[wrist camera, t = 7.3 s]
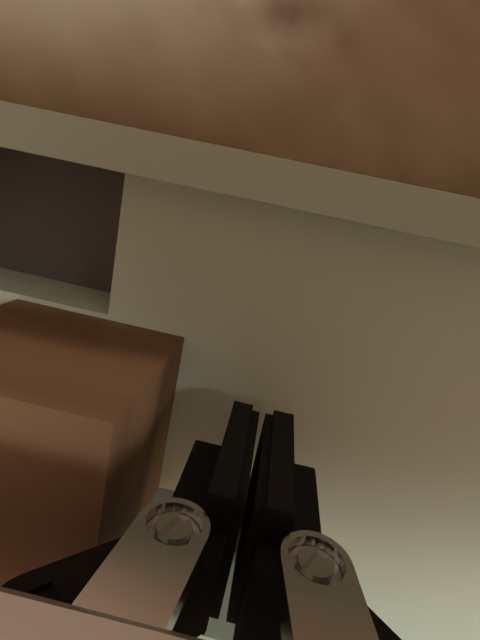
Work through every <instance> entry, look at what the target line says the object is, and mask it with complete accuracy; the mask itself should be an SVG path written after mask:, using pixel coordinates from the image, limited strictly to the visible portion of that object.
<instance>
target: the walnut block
mask: <svg viewBox="0 0 480 640" xmlns="http://www.w3.org/2000/svg"><path fill="white" fill-rule="evenodd" d="M183 343H184V337H181V336H177V335H172V334H168V333H164V332H159V331H155V330H151V329H146V328H142V327H138V326H133V325H129V324H125V323H120V322H116V321H112V320H107V319H103V318H98V317H94V316H90V315H85V314H81V313H77V312H72V311H68V310H64V309H59V308H55V307H51V306H46V305H42V304H38V303H33V302H29V301H24V300H20V299H16V300H13V301H10V302H7V303H4V304H1V305H0V586H2V585H3V584H5V583H6V582H7V581H9V580H11V579H13V578H15V577H17V576H19V575H21V574H23V573H26V572H28V571H31V570H34V569H36V568H39V567H42V566H45V565H47V564H50V563H53V562H55V561H58V560H61V559H63V558H66V557H69V556H71V555H74V554H77V553H79V552H82V551H85V550H88V549H90V548H93V547H96V546H98V545H101V544H104V543H106V542H109V541H112V540H114V539H117V538H120V537H122V536H123V535H124V533H125V532H126V531H127V529H128V528H129V527H130V525H131V524H132V522H133V521H134V520H135V518H136V517H137V516H138V514H139V513H140V512H141V510H142V509H143V508H144V507H146V506H147V505H148V504H149V503H151V501H152V499H153V497H154V495H155V493H156V490H157V488H158V486H159V482H160V476H161V471H162V465H163V459H164V453H165V447H166V442H167V436H168V430H169V424H170V418H171V413H172V407H173V401H174V395H175V390H176V384H177V378H178V372H179V366H180V361H181V355H182V349H183Z"/></svg>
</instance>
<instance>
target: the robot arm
mask: <svg viewBox="0 0 480 640" xmlns="http://www.w3.org/2000/svg"><path fill="white" fill-rule="evenodd" d="M259 414H260V412H258V411H254V410H253V405H251V404H247V403H242V402H238V401H234V404H233V408H232V411H231V414H230V418H229V421H228V425H227V428H226V432H225V435H224V439H223V442H222V445H221V446H220V445H216V444H212V443H208V442H204V441H199V440H196V441H195V443H194V445H193V447H192V450H191V452H190V455H189V457H188V460H187V462H186V464H185V467H184V469H183V472H182V474H181V477H180V479H179V482H178V484H177V486H176V489H175V491H174V494H173V496H172V497H167V498H162V499H157V500H155V501H153V502H151V503H149V504H148V505H147V506H146V507H144V508H143V509H142V510H141V512H140V513H139V514H138V516H137V517H136V518H135V520H134V521H133V522H132V524H131V525H130V527H129V528H128V529H127V531H126V532H125V533H124V535H123V536H122V537H120V538H117V539H114V540H112V541H109V542H106V543H104V544H101V545H98V546H96V547H93V548H90V549H88V550H85V551H82V552H79V553H77V554H74V555H71V556H69V557H66V558H63V559H61V560H58V561H55V562H53V563H50V564H47V565H45V566H42V567H39V568H36V569H34V570H31V571H28V572H26V573H23V574H21V575H19V576H17V577H15V578H13V579H11V580H9V581H7V582H6V583H5V584H3V585H2V586H0V640H204V639H200V638H197V637H198V636H200V635H205V632H206V630H207V626H208V622H209V617H210V618H214V619H219V615H220V611H221V607H222V603H223V598H224V594H225V590H226V586H227V582H228V577H229V573H230V569H231V565H232V561H233V556H234V552H235V548H236V544H237V540H238V535H239V540H238V547H237V553H236V559H235V566H234V572H233V579H232V585H231V592H230V598H229V604H228V611H227V618H226V622H229V623H233V624H235V628H234V636H233V640H402V639H401V638H400V637H399V636H398V635H397V634H396V633H395V632H393V631H392V630H391V629H390V628H389V627H388V626H387V625H386V624H385V623H384V622H383V621H382V620H381V619H380V618H379V617H378V616H377V615H376V614H375V613H374V612H373V611H372V610H371V609H370V608H369V607H368V606H367V603H366V600H365V597H364V594H363V591H362V589H361V586H360V583H359V580H358V577H357V574H356V571H355V568H354V565H353V563H352V561H351V559H350V557H349V555H348V553H347V552H346V551H345V550H344V549H343V548H342V547H341V545H339V544H338V543H337V542H335V541H334V540H333V539H331V538H330V537H328V536H326V535H323V534H321V524H320V514H319V504H318V494H317V483H316V473H315V469H314V468H312V467H308V466H304V465H299V464H295V460H294V415H293V414H289V413H285V412H281V411H277V410H274V412H273V415H271V414H267V413H266V414H265V417H264V421H263V426H262V430H261V434H260V438H259V442H258V447H257V451H256V455H255V459H254V464H253V468H252V461H253V454H254V447H255V441H256V434H257V427H258V421H259ZM251 468H252V472H251ZM250 474H251V476H250ZM239 531H240V534H239Z"/></svg>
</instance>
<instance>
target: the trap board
mask: <svg viewBox="0 0 480 640" xmlns="http://www.w3.org/2000/svg"><path fill="white" fill-rule="evenodd" d="M16 299H20V300H24V301H29V302H33V303H38V304H42V305H46V306H51V307H55V308H59V309H64V310H68V311H72V312H77V313H81V314H85V315H90V316H94V317H98V318H103V319H107V320H112V321H116V322H120V323H125V324H129V325H133V326H138V327H142V328H146V329H151V330H155V331H159V332H164V333H168V334H172V335H177V336H181V337H184V343H183V349H182V355H181V361H180V366H179V372H178V378H177V384H176V390H175V395H174V401H173V407H172V413H171V418H170V424H169V430H168V436H167V442H166V447H165V453H164V459H163V465H162V471H161V476H160V482H159V486H158V488H157V490H156V493H155V495H154V497H153V499H152V501H151V502H153V501H155V500H157V499H162V498H167V497H172V496H173V494H174V491H175V489H176V486H177V484H178V482H179V479H180V477H181V474H182V472H183V469H184V467H185V464H186V462H187V460H188V457H189V455H190V452H191V450H192V447H193V445H194V443H195V441H196V440H199V441H204V442H208V443H212V444H216V445H220V446H221V445H222V442H223V439H224V435H225V432H226V428H227V425H228V421H229V418H230V414H231V411H232V408H233V404H234V401H238V402H242V403H247V404H251V405H253V410H254V411H258V412H260V414H259V421H258V427H257V434H256V441H255V447H254V454H253V461H252V468H253V464H254V459H255V455H256V451H257V447H258V442H259V438H260V434H261V430H262V426H263V421H264V417H265V414H266V413H267V414H271V415H273V412H274V410H277V411H281V412H285V413H289V414H293V415H294V460H295V464H299V465H304V466H308V467H312V468H314V469H315V473H316V483H317V494H318V504H319V514H320V524H321V534H323V535H326V536H328V537H330V538H331V539H333V540H334V541H335V542H337V543H338V544H339V545H341V547H342V548H343V549H344V550H345V551H346V552H347V553H348V555H349V557H350V559H351V561H352V563H353V565H354V568H355V571H356V574H357V577H358V580H359V583H360V586H361V589H362V591H363V594H364V597H365V600H366V603H367V606H368V607H369V608H370V609H371V610H372V611H373V612H374V613H375V614H376V615H377V616H378V617H379V618H380V619H381V620H382V621H383V622H384V623H385V624H386V625H387V626H388V627H389V628H390V629H391V630H392V631H393V632H395V633H396V634H397V635H398V636H399V637H400V638H401V639H402V640H480V198H475V197H470V196H465V195H461V194H456V193H451V192H446V191H441V190H436V189H431V188H426V187H421V186H417V185H412V184H407V183H402V182H397V181H392V180H387V179H382V178H377V177H373V176H368V175H363V174H358V173H353V172H348V171H343V170H338V169H333V168H329V167H324V166H319V165H314V164H309V163H304V162H299V161H294V160H289V159H285V158H280V157H275V156H270V155H265V154H260V153H255V152H250V151H245V150H241V149H236V148H231V147H226V146H221V145H216V144H211V143H206V142H201V141H197V140H192V139H187V138H182V137H177V136H172V135H167V134H162V133H157V132H153V131H148V130H143V129H138V128H133V127H128V126H123V125H118V124H113V123H109V122H104V121H99V120H94V119H89V118H84V117H79V116H74V115H70V114H65V113H60V112H55V111H50V110H45V109H40V108H35V107H30V106H26V105H21V104H16V103H11V102H6V101H1V100H0V305H1V304H4V303H7V302H10V301H13V300H16ZM252 468H251V472H252ZM250 476H251V474H250ZM239 534H240V531H239ZM238 540H239V535H238ZM238 540H237V544H236V548H235V552H234V556H233V561H232V565H231V569H230V573H229V577H228V582H227V586H226V590H225V594H224V598H223V603H222V607H221V611H220V615H219V619H214V618H210V617H209V622H208V626H207V630H206V632H205V635H200V636H198V637H197V638H200V639H204V640H233V636H234V628H235V624H233V623H229V622H226V618H227V611H228V604H229V598H230V592H231V585H232V579H233V572H234V566H235V559H236V553H237V547H238Z"/></svg>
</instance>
